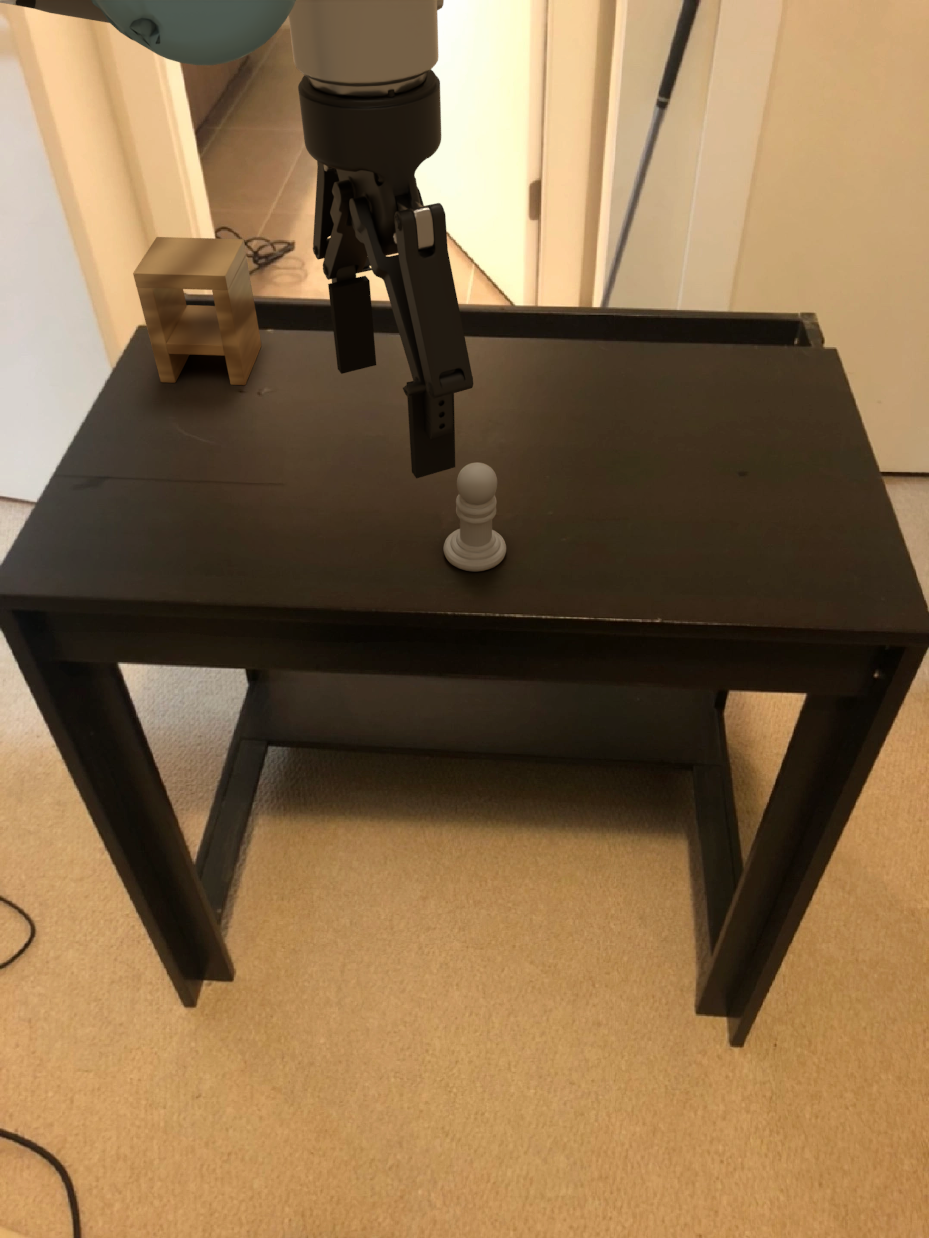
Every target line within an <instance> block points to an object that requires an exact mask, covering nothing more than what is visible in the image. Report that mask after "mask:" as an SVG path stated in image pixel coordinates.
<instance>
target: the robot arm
mask: <svg viewBox="0 0 929 1238" xmlns="http://www.w3.org/2000/svg"><path fill="white" fill-rule="evenodd" d="M444 1H445V0H0V3H1V4H4V5H5V4H6V5H12V6H17V7H23V8H28V9H33V10H37V11H41V12H44V13H48V14H54V15H60V16H66V17H70V18H71V17H72V18H77V19H84V20H89V21H95V22H100V23H101V22H102V23H107V24H110V25H111V26H113V28H115V29H116V30H117V31H118V32H119V33H121V34H122V35H123V36H125V37H127V38H128V39H130V40H131V41H133V42H136V43H137V44H139V45H141V46H143V47H144V48H146V49H148V50H149V51H151V52H152V53H154V54H155V55H157V56H160V57H162V58H165V59H166V60H169V61H172V62H176V63H180V64H183V65H184V64H185V65H192V66H217V65H222V64H228V63H231V62H234V61H237V60H240V59H242V58H244V57H246V56H248V55H249V54H251V53H253V52H255V51H257V50H258V49H259V48H261V47H262V46H263V45H265V44H266V43H268V41H269V40H270V39H272V38H273V36H274V35H275V34H276V33H277V32H278V31H279V30H280V29H281V27H282V26H283V25H284V23H285V22H286V21H287V19H288V24H289V25H288V26H289V32H290V41H291V50H292V51H291V52H292V58H293V60H292V61H293V65H294V67H295V68H296V69H297V70H298V71H299V72H300V73H301V74H302V75H303V76H302V78H301V80H300V81H299V83H298V86H297V90H298V98H299V107H300V115H301V125H302V132H303V141H304V145H305V149H306V151H307V153H308V154H309V155H310V156H311V158H313V159H314V160H315V161H316V164H317V166H316V167H317V170H316V185H315V205H314V219H313V220H314V223H313V237H312V238H313V239H312V252H313V255H314V257H315V258H316V259H317V260H318V261H319V260H323V262H322V272H323V274H324V276H325V278H326V279H327V280H328V281H329V280H331V282H330V283H327V287H328V295H329V304H330V312H331V313H330V314H331V321H332V323H331V324H332V330H333V341H334V348H335V357H336V366H337V367H336V368H337V370H338V372H339V373H340V374H341V375H343V374H348V373H351V372H354V371H358V370H359V371H360V370H363V369H367V368H371V367H375V366H377V357H376V355H377V354H376V344H375V331H374V319H373V318H374V317H373V308H372V294H371V283H370V279H369V278H368V277H367V276H366V275H362V276H357V274H361V273H366V272H369V271H372V273H373V275H374V276H375V277H377V278H380V279H381V280H382V281H383V282H384V286H385V289H386V292H387V296H388V299H389V303H390V306H391V310H392V313H393V316H394V321H395V323H396V327H397V330H398V334H399V338H400V340H401V344H402V347H403V351H404V354H405V358H406V361H407V364H408V368H409V371H410V374H411V378H412V380H410V381H407V382H406V384H405V386H402V390H403V393H404V394H405V396H406V398H407V413H408V414H407V415H408V430H409V447H410V465H411V466H410V467H411V474H413V476H414V478H415V479H420V478H424V477H428V476H430V475H434V474H436V473H440V472H444V471H448V470H451V469H453V468H456V432H455V431H456V430H455V429H456V427H455V424H456V423H455V394H457V393H461V392H464V391H468V390H470V389H473V387H474V376H473V373H472V367H471V362H470V357H469V351H468V346H467V341H466V337H465V331H464V327H463V321H462V315H461V312H460V306H459V300H458V295H457V291H456V284H455V280H454V276H453V270H452V265H451V264H452V263H451V259H450V254H449V248H448V232H447V219H446V212H445V208H444V206H443V205H442V203H441V202H436V203H431V204H427V205H426V204H425V205H424V201H423V197H422V194H421V191H420V189H419V187H418V185H417V178H416V175H415V173H416V171H417V170H418V168H419V166H421V165H422V163H424V162H425V161H426V160H428V159H430V158H431V157H432V156H433V155H435V154H436V152H437V151H438V150H439V148H440V146H441V143H442V110H441V109H442V105H441V104H442V103H441V80H440V78H439V77H438V76H437V74H436V72H434V70H432V69H433V68H434V67H435V66H436V65H437V63H438V61H439V26H438V25H439V24H438V23H439V21H438V11H440V9H442V8H443V7H444Z"/></svg>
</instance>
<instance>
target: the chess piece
mask: <svg viewBox="0 0 929 1238" xmlns="http://www.w3.org/2000/svg"><path fill="white" fill-rule="evenodd" d="M456 489H457V493H458V495H457V496H456V499H455V505H456V507H455V513H456V516H457V518H458V519H459V528H457V529H456V530H454V531H452V532H451V533H450V534H448V536H447V537H446V539H445V541H444V543H443V549H442V550H443V554H444V556H445V558H446V560H447V561H448V562H449V564H450V565H452V566H454V567H455V568H457V569H459V570H463V571H466V572H484V571H487V570H490V569H493V568H495V567H496V566H498V565H499V564H500V563H501V562H502V561H503V560H504V558H505V556H506V553H507V545H506V541H505V539H504V538H503V536H502V535H501V534H500V533H498V531H496V530H494V529H493V519H494V518H495V517H496V514H497V511H498V510H497V504H498V501H497V497H496V492H497V489H498V478H497V474H496V471H494V469H493V468H492V467H491V466H490V465H488V464H486V463H483V462H471V463H467V464H466V465H465V466H463V467H462V468H461V469H460V471H459V472H458V475H457V478H456Z"/></svg>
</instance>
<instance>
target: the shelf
mask: <svg viewBox="0 0 929 1238" xmlns="http://www.w3.org/2000/svg"><path fill="white" fill-rule="evenodd" d="M248 262H249V261H248V257H247V249H246V243H245V238H217V237H216V238H212V237H210V238H209V237H206V238H205V237H179V236H178V237H173V236H156V238H154V240H153V242H152V243H151V245H150V246H149V247H148V250H146V252H145V254H144V256H143V257H142V259H141V260H140V262H139V263H138V265H137V266H136V268H135V270H133V272H132V276H133V279H134V283H135V287H136V290H137V294H138V298H139V299H138V300H139V302H140V307H141V310H142V314H143V318H144V321H145V326H146V329H147V333H148V338H149V342H150V344H151V349H152V353H153V357H154V361H155V366H156V368H157V373H158V376H159V381H160V383H170V384H171V383H172V384H175V383H176V382H177V381H178V379H179V377H180V374H181V373H182V371H183V369H184V366H185V365H186V363H187V361H188V358H189V357H190V355H191V356H192V355H193V356H195V355H197V356H224V358H225V363H226V369H227V373H228V378H229V383H230V385H232V386H233V385H234V386H246V385H247V382H248V379H249V377H250V375H251V373H252V370H253V367H254V365H255V362H256V360H257V358H258V355H259V353H260V350H261V348H262V341H261V336H260V328H259V323H258V316H257V311H256V304H255V299H254V293H253V292H254V291H253V286H252V281H251V275H250V268H249V263H248ZM184 290H198V291H199V290H200V291H201V290H203V291H211V293H212V297H213V303H214V305H197V304H196V305H194V304H187V301H186V296H185V292H184Z"/></svg>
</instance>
